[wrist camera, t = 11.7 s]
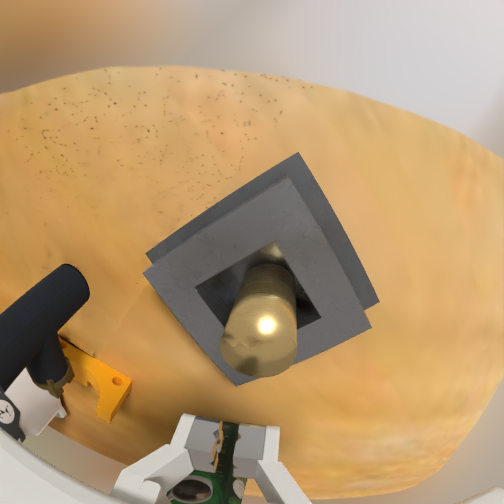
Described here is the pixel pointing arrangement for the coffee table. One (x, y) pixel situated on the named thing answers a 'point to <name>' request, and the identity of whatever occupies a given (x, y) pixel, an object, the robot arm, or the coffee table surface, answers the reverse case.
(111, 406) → the pipe clamp
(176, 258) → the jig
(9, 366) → the pipe connector
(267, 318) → the tan cylinder
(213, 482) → the coffee jar
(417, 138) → the coffee table surface
